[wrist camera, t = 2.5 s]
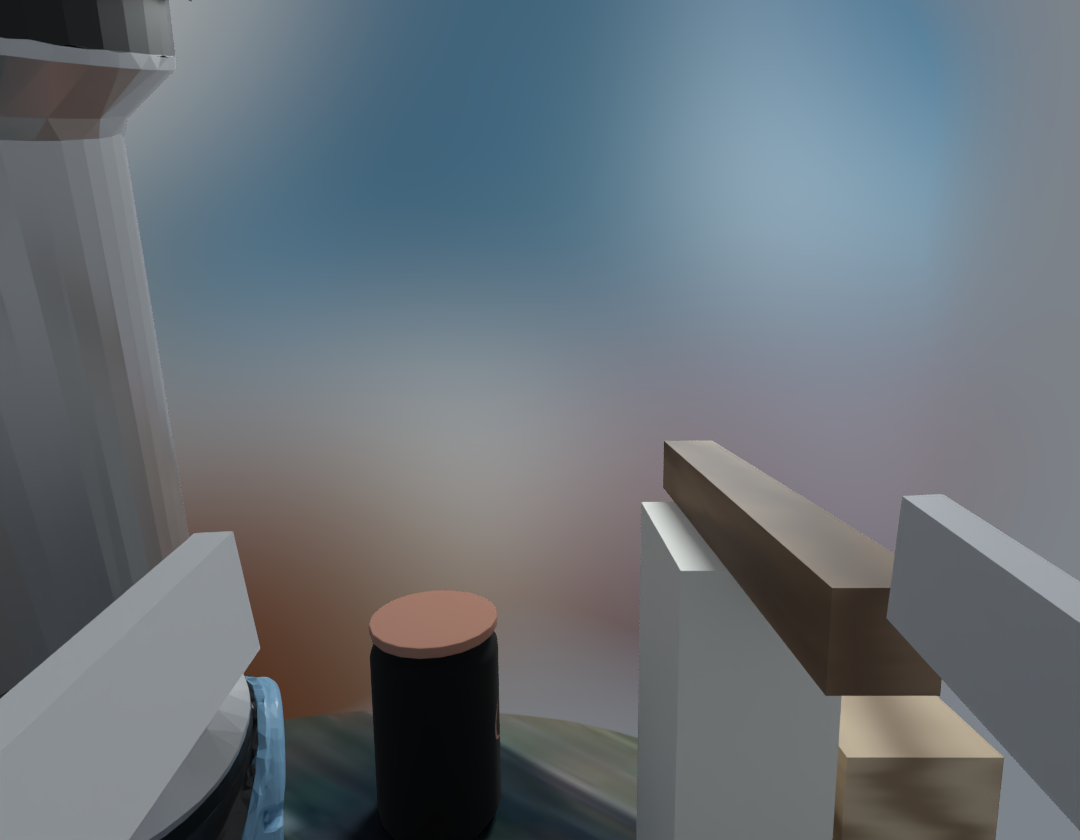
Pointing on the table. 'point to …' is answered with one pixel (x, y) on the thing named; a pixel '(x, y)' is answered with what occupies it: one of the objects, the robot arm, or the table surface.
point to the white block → (723, 705)
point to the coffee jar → (436, 715)
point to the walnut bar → (800, 572)
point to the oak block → (913, 772)
